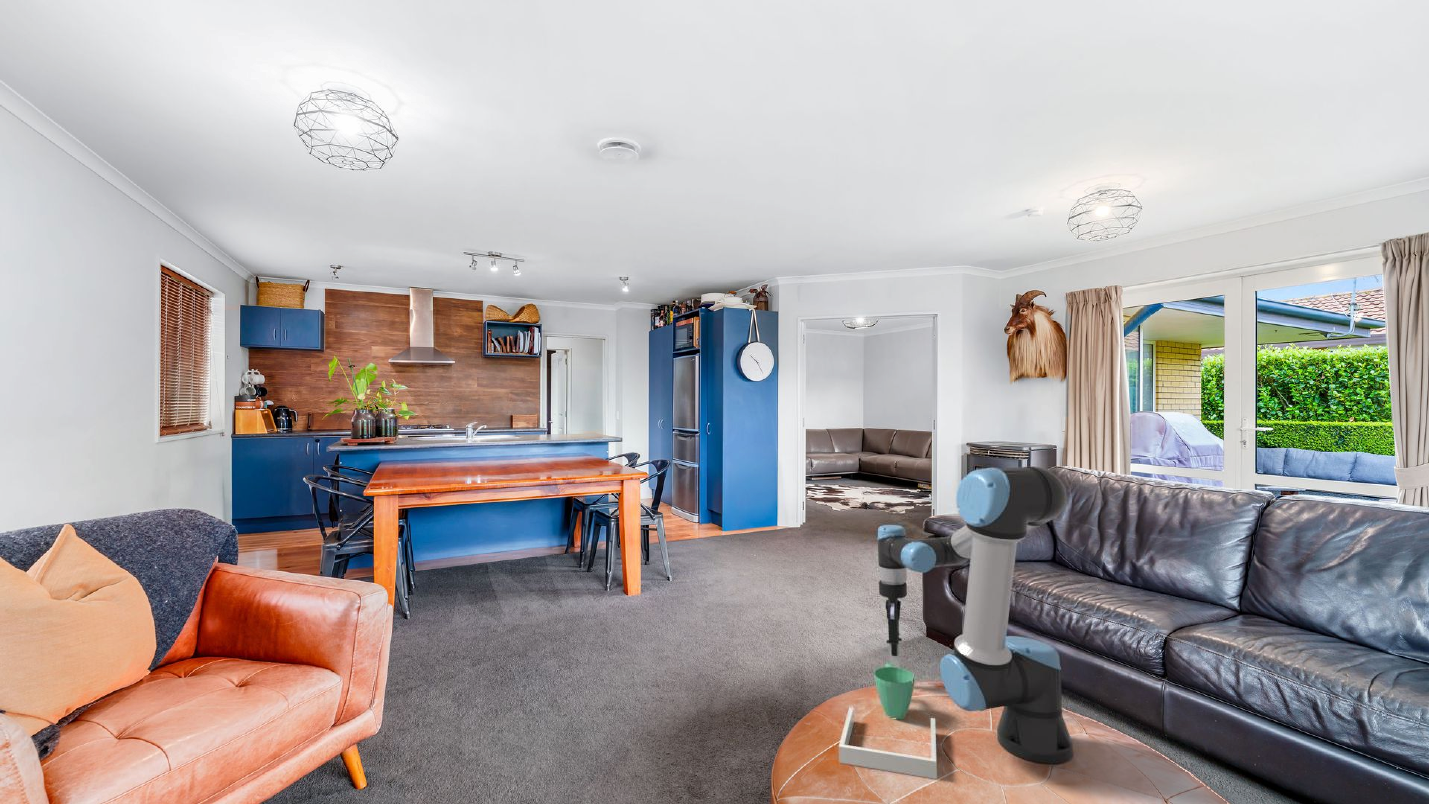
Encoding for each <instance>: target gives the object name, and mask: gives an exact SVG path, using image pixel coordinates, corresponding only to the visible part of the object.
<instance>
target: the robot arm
mask: <svg viewBox="0 0 1429 804" xmlns="http://www.w3.org/2000/svg"><path fill="white" fill-rule="evenodd" d="M1067 498H1068V495H1067V490H1066V487H1065V484H1064V483H1063V482H1062V480H1061V478H1059V477H1058V476H1057V475H1056V474H1055V473H1053V472H1052V471H1050V470H1049V469H1045V468H1043V467H1039V466H1020V467H1018V466H1016V467H1015V466H1014V467H987V468H982V469H975V470H973V471H970V472H969V473H968V474H967V475H965V476H964V477H963V478H962V479H961V482H960V483H959V485H958V488H957V492H956V506H957V508H958V509H959V510H958V513H959V516H960V518H961V519H962V520H963V521H964V522H965V523H966V524H965V525H964V526H962V527H961V528H959V529H957V530H956V531H955V532H953V533H951V534H950V535H948V536H945V537H934V538H933V537H932V538H918V539H914V538H913V539H912V538H908V537H907V534H906V530H905V529H906V528H905V527H903V526H902V525H897V524H884V525H880V526H878V529H877V554H878V555H877V558H878V561H877V562H878V567H877V568H876V572H877V573H878V579H879V581H878V593H879V595H880V596H881V597H883V598H887V599H886V601H885V610H886V619H887V626H888V627H887V629H888V630H887V633H888V639H886V644H888V651H889V652H888V654H889V655H888V656H889V657H888V658H889V664H893V666H894V667H897V668H901V660H900V659H901V656H900V651H901V650H900V642H902V639H903V638H901V637H900V634H901V633H900V619H901V617H900V616H901V607H902V601H901V600H899V599H905V598H906V597H907V596H908V586H907V585H908V584H907V580H908V578H907V577H908V576H907V575H908V574H907V572H908V571H907V569H908V570H910V571H913V572H917V573H920V574H921V573H927V572H929V571H930V570H932V569H933V568H941V567H949V566H950V567H953V566H966V565H969V568H968V570H969V571H968V579H967V589H966V599H965V600H966V601H965V606H964V607H965V609H964V616H963V628H962V634H960V635H959V636H957V637H955V639H954V642H953V644H954V645H953V652H952V654H951V653H947V654H946V655H944V656H943V657H942V658H941V659H940V660H941V661H940V665H939V666H940V667H939V669H940V670H939V671H940V676H941V681H942V683H943V685H944V687H945V690H946V692H947V694H948V695H949V697H950V698H951V700H952V701H953V702H954V704H955V705H956V706H958V708H960V709H962V711H963V710H964V711H967V712H977V711H978V712H984V711H985V710H990V709H996V708H997V709H998V708H1003V709H1002V712H1001V715H1000V718H999V720H998V723H997V728H996V733H997V741H998V743H999V745H1000V746H1001V747H1002V748H1003V749H1004V750H1006V751H1007V752H1009V753H1010V754H1012V755H1014V756H1016V757H1018V758H1020V759H1023V760H1026V761H1030V762H1035V763H1039V764H1047V765H1049V764H1050V765H1052V764H1053V765H1055V764H1062V763H1066V762H1068V761H1070V760H1071V759H1072V758H1073V756H1074V743H1073V740H1072V737H1071V735H1070V732H1069V728H1068V726H1067V724H1066V722H1065V719H1064V717H1063V704H1062V703H1063V702H1062V699H1063V697H1062V674H1061V673H1062V667H1061V665H1060V664H1061V663H1060V655H1059V652H1058V651H1057V650H1056V648H1054V647H1053V646H1051V645H1050V644H1048V643H1045V642H1043V641H1039V640H1038V639H1037V640H1036V639H1033V638H1029V637H1023V636H1017V635H1016V636H1015V635H1007V632H1008V625H1009V624H1008V623H1009V613H1010V607H1011V599H1012V590H1013V589H1012V588H1013V582H1014V581H1013V580H1014V571H1015V563H1016V554H1017V546H1018V543H1020V542H1021V541H1023V540H1025V538H1026V537H1027V532H1028V531H1027V530H1028V528H1029V527H1033V528H1037V527H1041V526H1043V525H1044V524H1046V523H1048V522H1051V521H1052V520H1054V519H1056V518H1057V517H1059V516H1060V514H1062V513H1063V511H1064V509H1065V508H1066V505H1067Z"/></svg>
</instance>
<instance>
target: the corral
mask: <svg viewBox="0 0 1429 804" xmlns="http://www.w3.org/2000/svg"><path fill="white" fill-rule="evenodd" d="M854 712H855V709H854V707H852V706H849V708H848V711H847V715H846V719H845V721H844V726H843V729H842V734H841V736H840V741H839V744H838V763H840V764H845V765H850V766H856V767H864V768H870V769H874V770H881V771H885V772H886V771H888V772H894V773H898V774H905V775H908V776H909V775H910V776H915V777H922V778H928V779H934V780H938V773H937V772H938V769H937V768H938V766H937V737H936V736H937V734H936V733H937V732H936V718H935V717H934V718H933V717H930V757H925V756H918V755H910V754H905V753H899V752H892V751H886V750H880V749H873V748H869V747H868V748H866V747H862V746H855V745H849V744H850V740H851V735H852V732H853V727H854V723H855V716H854V715H855V713H854Z"/></svg>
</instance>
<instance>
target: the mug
mask: <svg viewBox="0 0 1429 804" xmlns="http://www.w3.org/2000/svg"><path fill="white" fill-rule="evenodd" d="M873 674H874V675H873V676H874V681H875V682H874V683H875V688H876V691H877V694H878V698H879V701H880V704H881V706H882V709H883V711H884V714H885V715H887V716H890V717H891V718H896V719H895V720H897V719H899V720H902V718H903V719H904V717H905V718H906V717H907V713H908V711H909V709H910V704H911V702H912V701H911V700H912V697H913V693H914V688H915V687H914V686H915V675H914V673H913V672H911V671H909V670H907V669H905V668H901V667H894V666H893V664H890V662H889V663H885V664H884V667H879V668H876V669H875V670H874V672H873ZM887 716H886V717H887ZM891 718H890V719H891Z"/></svg>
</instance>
